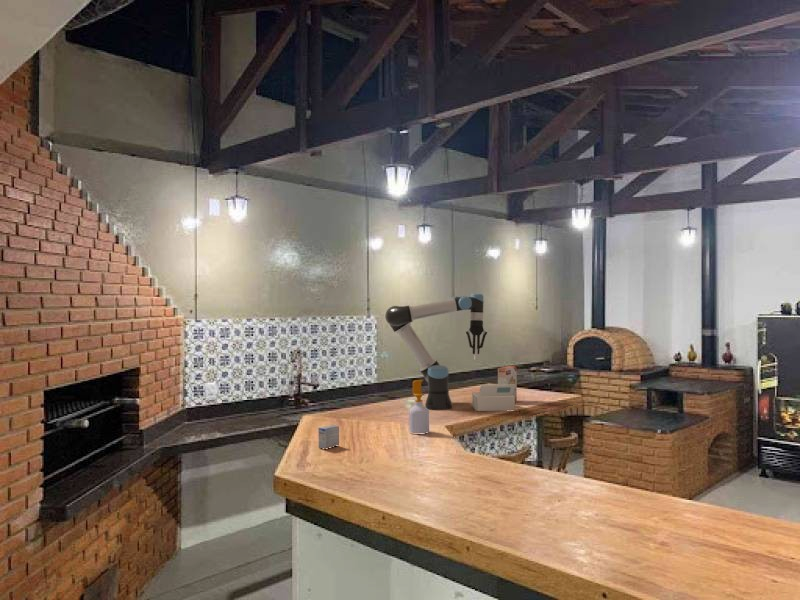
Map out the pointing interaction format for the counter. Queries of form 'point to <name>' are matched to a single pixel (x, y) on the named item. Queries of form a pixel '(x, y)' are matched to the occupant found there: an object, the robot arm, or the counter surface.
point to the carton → (492, 402)
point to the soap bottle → (418, 412)
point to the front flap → (497, 390)
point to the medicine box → (328, 436)
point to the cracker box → (508, 377)
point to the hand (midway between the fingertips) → (475, 359)
